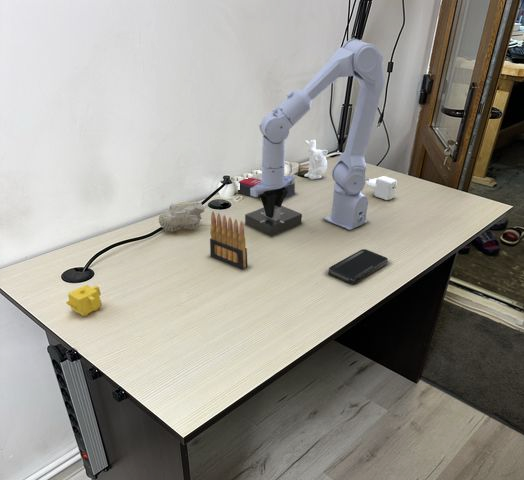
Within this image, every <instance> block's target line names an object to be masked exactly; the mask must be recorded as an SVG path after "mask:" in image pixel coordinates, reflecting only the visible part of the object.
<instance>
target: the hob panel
mask: <svg viewBox="0 0 524 480" xmlns="http://www.w3.org/2000/svg"><path fill="white" fill-rule="evenodd" d="M302 218H303V214H302V213H300V212H298V211H295V210H293V209H291V208H289V207H287V206H284V205H281V214H280V220H277V221H275V220H272V219H270V218H268V217H265V216H264V207H261V208H258V209H256V210H253V211H251V212H248V213H246V214H244V224H245V226H247V227H249V228H252V229H254V230H256V231H257V232H260V233H263V234H264V235H267V236H269V237H270V238H272V237H274V236H277V235H279V234H280V233H284V232H286V231H287V230H290V229H293V228H295V227H297V226H299V225H302Z"/></svg>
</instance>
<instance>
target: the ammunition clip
mask: <svg viewBox="0 0 524 480" xmlns="http://www.w3.org/2000/svg"><path fill="white" fill-rule="evenodd" d="M209 251H210V253H209V254H210V256H209V257H210V258H212V259H214V260H217V261H219V262H222V263H224V264H226V265H229V266H231V267H234V268H237V269H238V270H241V271H242V270H245V269H246V268H248V266H249V265H248V250H247V247H246V236H245V226H244V222H243V221H240V222H239V223H238V220H237V219H236V218H235V219H234V221H233V220H232V218H231V216H229V217H228V220H227V217H226V215H225V214H224V215H223V217H221V214H220V213H219V212H218V213H217V215H216V214H215V212H214V210H213V211H211V215H210V238H209Z"/></svg>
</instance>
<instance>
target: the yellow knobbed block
mask: <svg viewBox="0 0 524 480" xmlns="http://www.w3.org/2000/svg"><path fill="white" fill-rule="evenodd" d="M101 295H102V293H101V289H100V287H99V286H98V285H95V286H92V287H91V286H90V285H87V284H85V285H82V286H80V287H78V288H76V289H74V290H72V291H71V292H69V293H68V295H67V296H68V300H67V301H66V302H65V304H67V305H68V306H70V309H71V310H72V311H74V312H76V313H77V314H79V315H81V316H83V317H87V316H89V314H90V313H92V312H93V311H95V312H96V311H98V310H99V308H100V307H102V300H101V297H100V296H101Z"/></svg>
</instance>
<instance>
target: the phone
mask: <svg viewBox="0 0 524 480" xmlns="http://www.w3.org/2000/svg"><path fill="white" fill-rule="evenodd" d="M388 260H389V259H388V257H386V256H384V255H381V254H379V253H377V252H374V251H371V250H369V249H365V248H362V249H360V250H358V251H356V252H355V253H353V254H351V255H349V256H347V257H345V258H343V259H342V260H340V261H339V262H337V263H335V264H333V265H331V266H330V267H328V273H327V274H328V275H330V276H332V277H334V278H336V279H339V280H341V281H343V282H345V283H347V284H350V285H355V284H357V283H359V282H360V281H362V280H364V279H365V278H366V277H368V276H370V275H371V274H373V273H374V272H376V271H378V270H380V269H381V268H383V267H385V266H386V265H388Z"/></svg>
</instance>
